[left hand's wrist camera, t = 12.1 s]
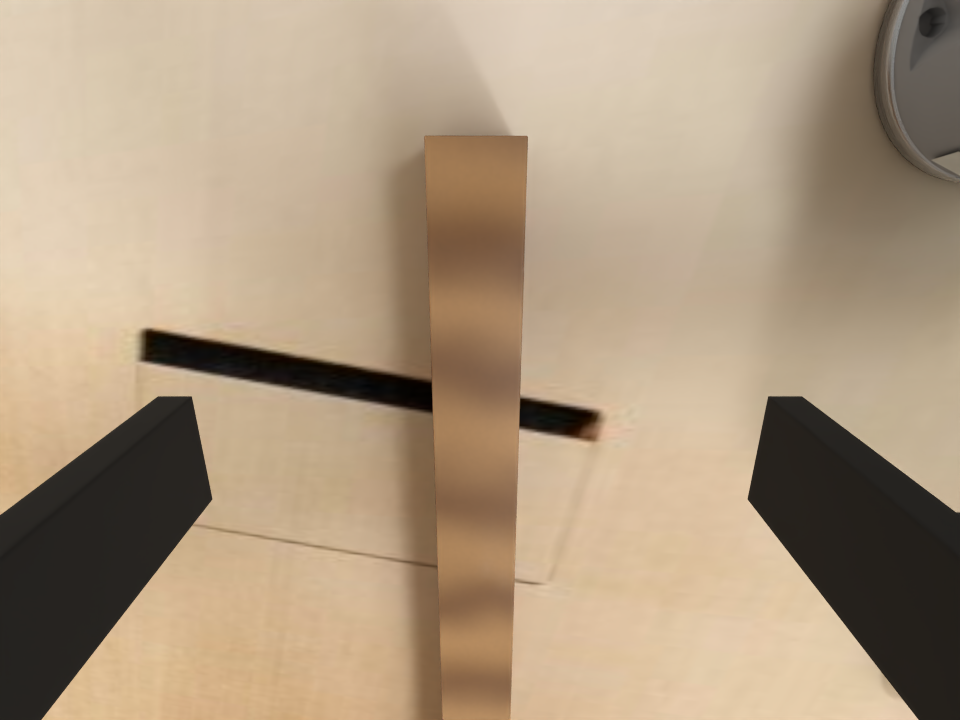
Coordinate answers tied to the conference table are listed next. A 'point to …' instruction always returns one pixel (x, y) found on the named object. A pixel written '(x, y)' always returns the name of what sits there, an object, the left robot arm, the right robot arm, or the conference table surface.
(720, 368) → the conference table surface
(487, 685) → the beam
